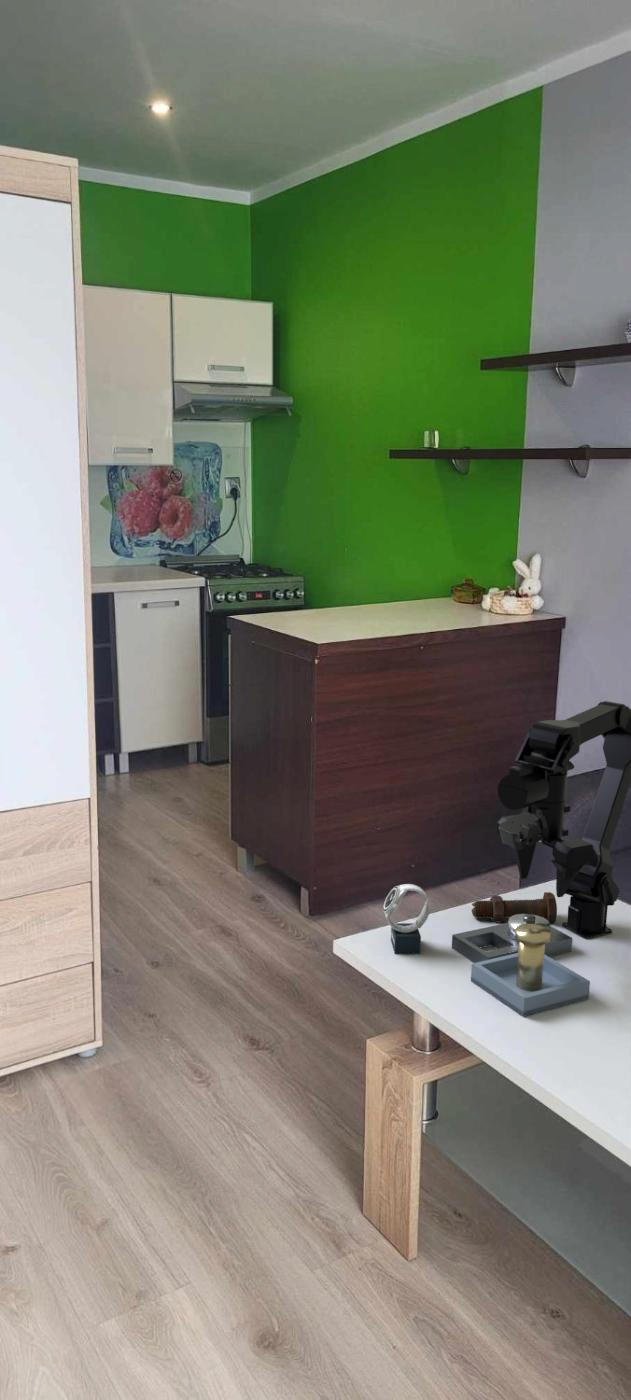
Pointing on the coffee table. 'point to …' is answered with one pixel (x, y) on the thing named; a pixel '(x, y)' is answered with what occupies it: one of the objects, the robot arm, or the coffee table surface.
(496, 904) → the bolt
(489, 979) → the tray
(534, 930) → the pin
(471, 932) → the block
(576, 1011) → the coffee table surface
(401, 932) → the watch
